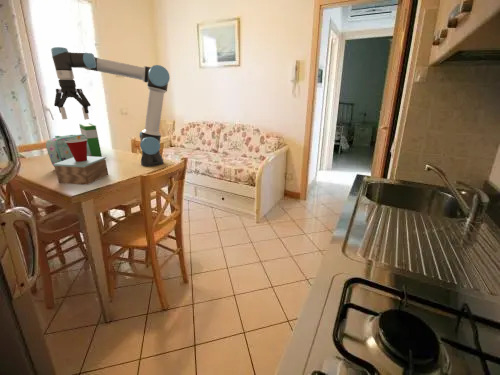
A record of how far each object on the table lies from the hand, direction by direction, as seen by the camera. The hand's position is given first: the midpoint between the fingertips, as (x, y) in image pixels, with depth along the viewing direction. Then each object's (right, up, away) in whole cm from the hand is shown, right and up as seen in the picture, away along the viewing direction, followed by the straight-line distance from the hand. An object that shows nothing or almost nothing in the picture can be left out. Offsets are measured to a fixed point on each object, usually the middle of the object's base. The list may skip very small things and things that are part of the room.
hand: (75, 119), depth 149 cm
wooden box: (+2, -34, +5) cm, 35 cm away
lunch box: (-23, -24, +32) cm, 46 cm away
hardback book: (-26, -14, +60) cm, 66 cm away
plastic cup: (+3, -24, +1) cm, 24 cm away
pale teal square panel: (+2, -25, +1) cm, 25 cm away
